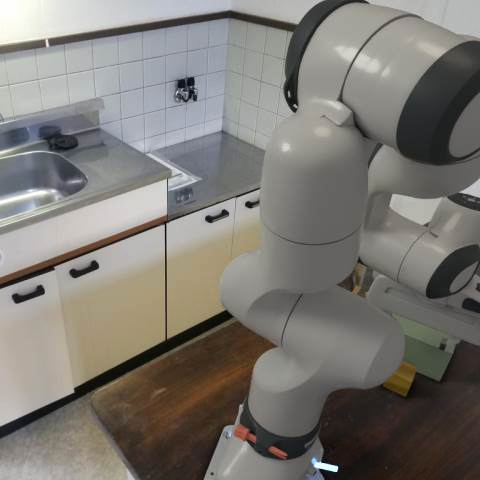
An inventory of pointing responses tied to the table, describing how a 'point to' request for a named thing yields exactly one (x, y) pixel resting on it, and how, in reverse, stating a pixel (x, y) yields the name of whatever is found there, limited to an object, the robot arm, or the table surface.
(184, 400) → the table surface
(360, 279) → the coffee box
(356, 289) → the drawer
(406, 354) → the cabinet
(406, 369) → the block
